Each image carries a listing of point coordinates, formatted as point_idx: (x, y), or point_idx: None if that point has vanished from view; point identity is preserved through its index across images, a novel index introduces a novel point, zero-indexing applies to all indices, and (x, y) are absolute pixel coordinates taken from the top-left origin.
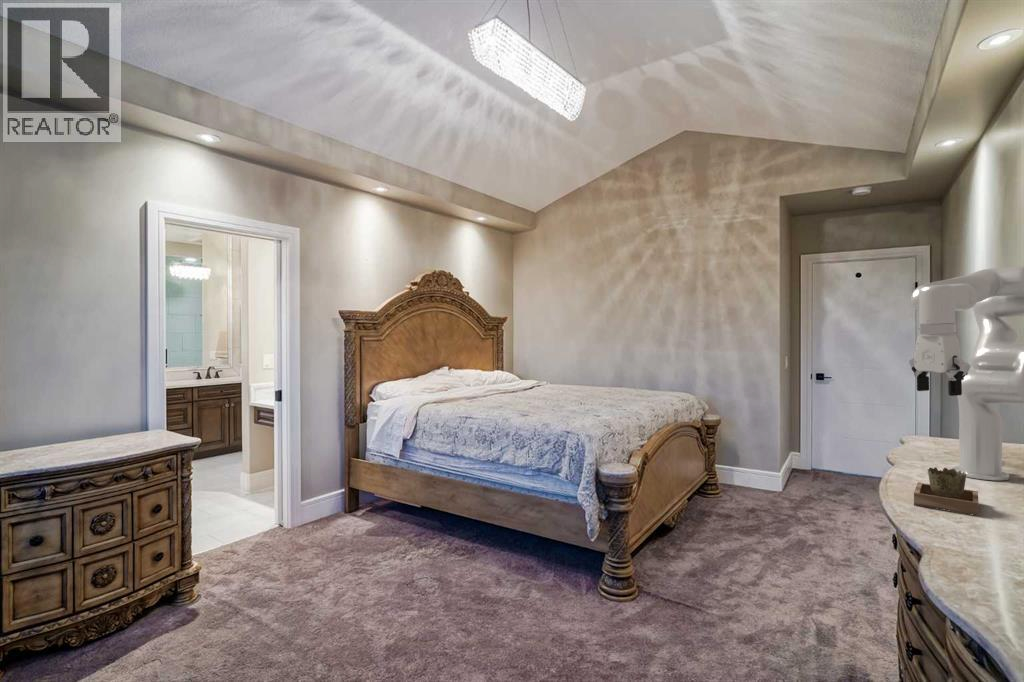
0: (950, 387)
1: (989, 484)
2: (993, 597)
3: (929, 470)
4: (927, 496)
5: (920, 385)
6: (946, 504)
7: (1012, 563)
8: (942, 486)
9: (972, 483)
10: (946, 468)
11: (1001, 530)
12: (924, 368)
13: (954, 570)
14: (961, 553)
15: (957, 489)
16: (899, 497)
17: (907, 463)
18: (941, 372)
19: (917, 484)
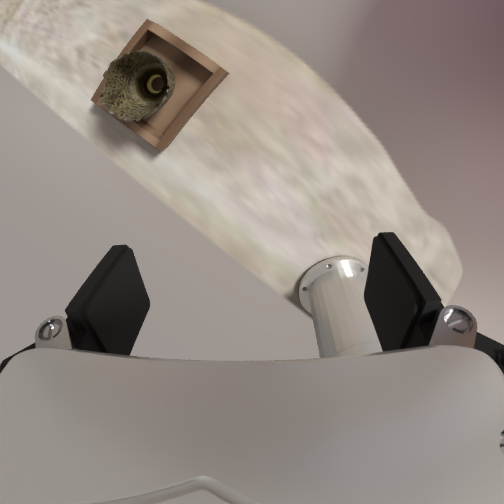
0: (90, 276)
1: (284, 258)
2: None
3: (164, 63)
4: (133, 37)
5: (386, 264)
6: None
7: None
8: (126, 65)
9: (293, 237)
10: (160, 103)
11: (54, 93)
12: (311, 392)
13: None
14: (9, 17)
15: (119, 88)
16: (205, 23)
17: (427, 233)
18: (50, 347)
19: (210, 61)
